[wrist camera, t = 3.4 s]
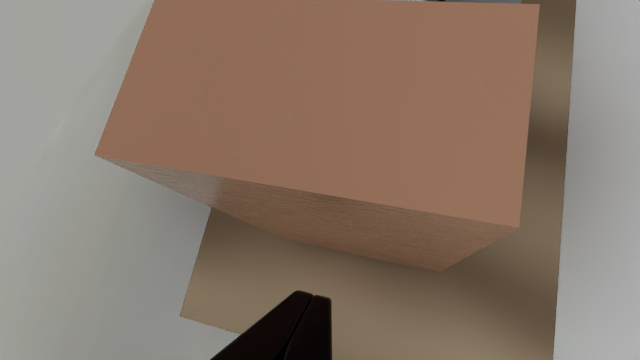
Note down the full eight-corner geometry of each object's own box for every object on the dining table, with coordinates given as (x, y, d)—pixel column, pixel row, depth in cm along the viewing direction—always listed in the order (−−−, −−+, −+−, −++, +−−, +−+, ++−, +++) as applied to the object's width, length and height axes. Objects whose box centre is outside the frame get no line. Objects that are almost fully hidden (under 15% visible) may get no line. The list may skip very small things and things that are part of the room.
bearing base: (533, 410, 13) (892, 740, 4) (198, 314, 17) (-82, 344, 7) (567, -54, 18) (756, -451, 9) (302, -51, 22) (220, -326, 12)
